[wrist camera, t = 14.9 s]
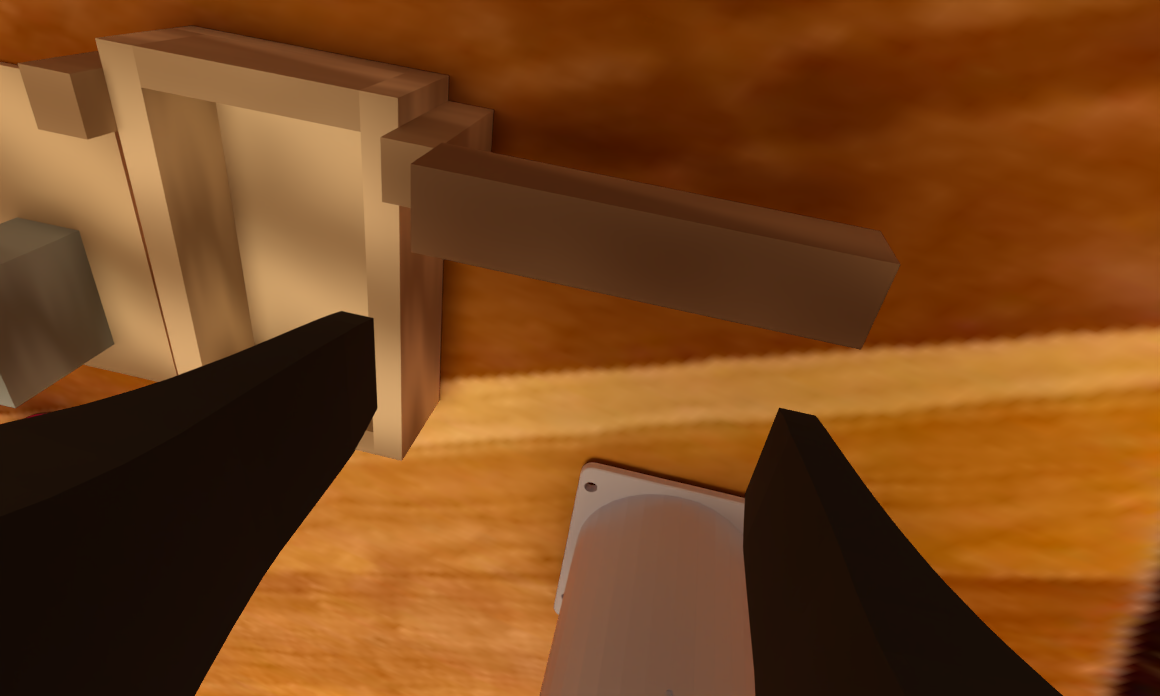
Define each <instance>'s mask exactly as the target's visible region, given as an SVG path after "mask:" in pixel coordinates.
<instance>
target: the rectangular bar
mask: <svg viewBox="0 0 1160 696" xmlns="http://www.w3.org/2000/svg"><path fill="white" fill-rule="evenodd" d="M411 252H413V253H418V254H422V255H427V256H432V257H436V258H441V259H445V260H450V261H455V262H459V263H464V264H469V265H473V266H478V267H482V268H487V269H492V270H496V271H501V272H505V273H510V274H515V275H519V276H524V277H529V278H533V279H538V280H542V281H547V282H552V283H556V284H561V285H565V286H570V287H575V288H579V289H584V290H588V291H593V292H598V293H602V294H607V295H612V296H616V297H621V298H625V299H630V300H635V301H639V302H644V303H648V304H653V305H658V306H662V307H667V308H671V309H676V310H681V311H685V312H690V313H695V314H699V315H704V316H708V317H713V318H718V319H722V320H727V321H731V322H736V323H741V324H745V325H750V326H755V327H759V328H764V329H768V330H773V331H778V332H782V333H787V334H791V335H796V336H801V337H805V338H810V339H814V340H819V341H824V342H828V343H833V344H838V345H842V346H847V347H851V348H856V349H861V348H862V346H863V344H864V342H865V340H866V338H867V335H868V333H869V331H870V329H871V327H872V325H873V323H874V320H875V318H876V316H877V314H878V312H879V310H880V307H881V305H882V303H883V301H884V299H885V297H886V294H887V292H888V290H889V288H890V286H891V284H892V282H893V279H894V277H895V275H896V273H897V271H898V269H899V266H900V263H899V261H898V260H897V258H896V256H895V255H894V253H893V251H892V250H891V248H890V246H889V245H888V243H887V241H886V240H885V238H884V236H883V235H882V233H881V231H877V230H872V229H867V228H862V227H858V226H853V225H848V224H843V223H838V222H833V221H828V220H823V219H818V218H813V217H808V216H803V215H798V214H793V213H788V212H783V211H779V210H774V209H769V208H764V207H759V206H754V205H749V204H744V203H739V202H734V201H729V200H724V199H719V198H714V197H709V196H704V195H700V194H695V193H690V192H685V191H680V190H675V189H670V188H665V187H660V186H655V185H650V184H645V183H640V182H635V181H630V180H625V179H621V178H616V177H611V176H606V175H601V174H596V173H591V172H586V171H581V170H576V169H571V168H566V167H561V166H556V165H551V164H546V163H542V162H537V161H532V160H527V159H522V158H517V157H512V156H507V155H502V154H497V153H492V152H487V151H482V150H477V149H472V148H467V147H463V146H458V145H453V144H448V143H443V142H442V143H440V144H439V145H438V146H436V147H435V148H433V149H432V150H430V151H429V152H427V153H426V154H424V155H423V156H421V157H420V158H418V159H417V160H415V161H414V162H412V163H411Z"/></svg>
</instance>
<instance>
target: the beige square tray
mask: <svg viewBox="0 0 1160 696" xmlns="http://www.w3.org/2000/svg"><path fill="white" fill-rule="evenodd" d="M95 39H96V43H97V47H98V51H95V52H88V53H82V54H75V55H69V56H62V57H55V58H49V59H42V60H36V61H29V62H23V63H18V66H19V70H20V73H21V76H22V79H23V82H24V86H25V89H26V92H27V95H28V98H29V102H30V105H31V108H32V111H33V114H34V118H35V121H36V124H37V127H38V129H39V130H44V131H49V132H53V133H58V134H63V135H68V136H72V137H77V138H82V139H87V140H88V139H92V138H95V137H99V136H102V135H105V134H109V133H112V132H116V131H118V132H119V136H120V140H121V144H122V149H123V153H124V157H125V161H126V165H127V169H128V173H129V177H130V181H131V185H132V189H133V193H134V197H135V201H136V205H137V209H138V213H139V217H140V221H141V226H142V230H143V234H144V238H145V242H146V246H147V250H148V254H149V258H150V262H151V266H152V270H153V274H154V278H155V282H156V286H157V290H158V294H159V298H160V303H161V307H162V311H163V315H164V319H165V323H166V327H167V331H168V335H169V339H170V343H171V347H172V351H173V355H174V359H175V363H176V367H177V371H178V375H180V374H182V373H185V372H188V371H190V370H193V369H196V368H198V367H201V366H204V365H206V364H209V363H212V362H214V361H217V360H220V359H222V358H225V357H228V356H230V355H233V354H235V353H238V352H240V351H243V350H245V349H247V348H250V347H252V346H255V345H257V344H259V343H262V342H264V341H267V340H269V339H271V338H274V337H276V336H279V335H281V334H283V333H286V332H288V331H290V330H293V329H295V328H298V327H300V326H302V325H305V324H307V323H310V322H312V321H315V320H317V319H320V318H322V317H325V316H328V315H330V314H333V313H336V312H339V311H344V312H349V313H353V314H358V315H362V316H367V317H371V318H374V338H375V361H376V384H377V407H378V408H377V410H376V412H375V414H374V416H373V418H372V420H371V422H370V424H369V426H368V428H367V429H366V431H365V433H364V435H363V437H362V439H361V440H360V442H359V444H358V446H357V447H356V449H355V450H359V451H363V452H368V453H372V454H376V455H380V456H384V457H388V458H392V459H396V460H401V461H402V460H403V458H404V457H405V455H406V453H407V452H408V450H409V449H410V447H411V445H412V444H413V442H414V441H415V439H416V437H417V436H418V434H419V433H420V431H421V429H422V428H423V426H424V424H425V423H426V421H427V420H428V418H429V416H430V415H431V413H432V412H433V410H434V408H435V407H436V405H437V404H438V402H439V385H440V352H441V319H442V286H443V259H441V258H436V257H432V256H427V255H422V254H418V253H413V252H411V163H412V162H414V161H415V160H417V159H418V158H420V157H421V156H423V155H424V154H426V153H427V152H429V151H430V150H432V149H433V148H435V147H436V146H438V145H439V144H440V143H442V142H443V143H448V144H453V145H458V146H463V147H467V148H472V149H477V150H482V151H487V152H491V145H492V130H493V116H494V110H493V109H488V108H483V107H477V106H472V105H467V104H462V103H457V102H452V101H448V88H449V75H444V74H439V73H433V72H428V71H423V70H418V69H413V68H408V67H403V66H397V65H392V64H387V63H382V62H377V61H372V60H367V59H361V58H356V57H351V56H346V55H341V54H336V53H330V52H325V51H320V50H315V49H310V48H305V47H300V46H294V45H289V44H284V43H279V42H274V41H269V40H264V39H258V38H253V37H248V36H243V35H238V34H233V33H227V32H222V31H217V30H212V29H207V28H202V27H197V26H184V27H177V28H169V29H161V30H154V31H146V32H138V33H131V34H123V35H115V36H108V37H100V38H95Z"/></svg>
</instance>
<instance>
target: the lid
mask: <svg viewBox="0 0 1160 696" xmlns="http://www.w3.org/2000/svg"><path fill="white" fill-rule="evenodd" d="M81 365H88V366H92V367H96V368H101V369H105V370H109V371H114V372H118V373H122V374H127V375H131V376H135V377H140V378H144V379H148V380H153V381H157V382H160V381H163V380H166V379H169V378H172V377H174V376H177V375H178V371H177V367H176V363H175V359H174V355H173V351H172V347H171V343H170V339H169V335H168V331H167V327H166V323H165V319H164V315H163V311H162V307H161V303H160V298H159V294H158V290H157V286H156V282H155V278H154V274H153V270H152V266H151V262H150V258H149V254H148V250H147V246H146V242H145V238H144V234H143V230H142V226H141V221H140V217H139V213H138V209H137V205H136V201H135V197H134V193H133V189H132V185H131V181H130V177H129V173H128V169H127V165H126V161H125V157H124V153H123V149H122V144H121V140H120V136H119V132H118V131H116V132H112V133H109V134H105V135H102V136H99V137H95V138H92V139H88V140H87V139H82V138H77V137H72V136H68V135H63V134H58V133H53V132H49V131H44V130H39V129H38V127H37V124H36V121H35V118H34V114H33V111H32V108H31V105H30V102H29V98H28V95H27V92H26V89H25V86H24V82H23V79H22V76H21V73H20V70H19V66H18V65H14V64H9V63H4V62H0V405H4V406H8V407H13V408H16V407H18V406H20V405H21V404H23V403H24V402H26V401H27V400H29V399H30V398H32V397H34V396H35V395H37V394H38V393H40V392H41V391H43V390H44V389H46V388H47V387H49V386H51V385H52V384H54V383H55V382H57V381H58V380H60V379H61V378H63V377H64V376H66V375H68V374H69V373H71V372H72V371H74V370H75V369H77V368H78V367H80V366H81Z"/></svg>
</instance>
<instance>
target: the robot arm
mask: <svg viewBox="0 0 1160 696" xmlns="http://www.w3.org/2000/svg"><path fill="white" fill-rule="evenodd" d="M377 408H378V407H377V384H376V361H375V338H374V318H371V317H367V316H362V315H358V314H353V313H349V312H344V311H339V312H336V313H333V314H330V315H328V316H325V317H322V318H320V319H317V320H315V321H312V322H310V323H307V324H305V325H302V326H300V327H298V328H295V329H293V330H290V331H288V332H286V333H283V334H281V335H279V336H276V337H274V338H271V339H269V340H267V341H264V342H262V343H259V344H257V345H255V346H252V347H250V348H247V349H245V350H243V351H240V352H238V353H235V354H233V355H230V356H228V357H225V358H222V359H220V360H217V361H214V362H212V363H209V364H206V365H204V366H201V367H198V368H196V369H193V370H190V371H188V372H185V373H182V374H180V375H177V376H174V377H172V378H169V379H166V380H163V381H160V382H157V383H154V384H151V385H148V386H145V387H142V388H139V389H136V390H132V391H129V392H126V393H122V394H119V395H115V396H112V397H108V398H105V399H102V400H98V401H95V402H91V403H87V404H84V405H80V406H76V407H72V408H68V409H63V410H59V411H55V412H51V413H46V414H42V415H38V416H34V417H29V418H25V419H21V420H17V421H12V422H8V423H4V424H0V696H195V694H196V692H197V691H198V689H199V687H200V685H201V683H202V681H203V679H204V678H205V676H206V674H207V672H208V671H209V669H210V667H211V665H212V664H213V662H214V660H215V658H216V656H217V655H218V653H219V651H220V649H221V648H222V646H223V644H224V642H225V640H226V639H227V637H228V635H229V633H230V632H231V630H232V628H233V626H234V625H235V623H236V621H237V620H238V618H239V616H240V615H241V613H242V611H243V610H244V608H245V606H246V605H247V603H248V601H249V600H250V598H251V596H252V595H253V593H254V591H255V590H256V588H257V586H258V585H259V583H260V581H261V580H262V578H263V576H264V575H265V573H266V572H267V570H268V569H269V567H270V566H271V564H272V563H273V562H274V560H275V559H276V557H277V556H278V554H279V553H280V551H281V550H282V549H283V547H284V546H285V545H286V543H287V542H288V541H289V539H290V538H291V537H292V535H293V534H294V533H295V531H296V530H297V529H298V527H299V526H300V525H301V523H302V522H303V521H304V519H305V518H306V517H307V515H308V514H309V513H310V511H311V510H312V509H313V507H314V506H315V505H316V503H317V502H318V501H319V499H320V498H321V497H322V495H323V494H324V493H325V491H326V490H327V489H328V487H329V486H330V485H331V483H332V482H333V480H334V479H335V478H336V476H337V475H338V474H339V472H340V471H341V470H342V468H343V467H344V465H345V464H346V463H347V461H348V460H349V458H350V457H351V456H352V454H353V453H354V451H355V449H356V447H357V446H358V444H359V442H360V440H361V439H362V437H363V435H364V433H365V431H366V429H367V428H368V426H369V424H370V422H371V420H372V418H373V416H374V414H375V412H376V410H377ZM588 482H592V483H594V484H596V485H590V484H588ZM554 610H555V612H556V613H557V614H559V617H558V621H557V625H556V629H555V633H554V637H553V642H552V646H551V650H550V654H549V658H548V663H547V667H546V671H545V675H544V679H543V683H542V688H541V692H540V696H1063V695H1062V694H1060V693H1059V692H1058V691H1057V690H1056V689H1055V688H1054V687H1052V686H1051V685H1050V684H1049V683H1048V682H1047V681H1046V680H1045V679H1044V678H1042V677H1041V676H1040V675H1039V674H1038V673H1037V672H1036V671H1035V670H1034V669H1033V668H1032V667H1030V666H1029V665H1028V664H1027V663H1026V662H1025V661H1024V660H1023V659H1022V658H1021V657H1019V656H1018V655H1017V654H1016V653H1015V652H1014V651H1013V650H1012V649H1011V648H1010V647H1008V646H1007V645H1006V644H1005V643H1004V642H1003V641H1002V640H1001V639H1000V638H999V637H998V636H997V635H996V634H995V633H994V632H993V631H992V630H991V629H990V628H989V627H988V626H987V625H986V624H985V623H984V622H983V621H982V620H981V619H980V618H979V617H978V616H977V615H976V614H975V613H974V612H973V611H972V610H971V609H970V608H969V607H968V606H967V605H966V604H965V603H964V602H963V601H962V600H961V599H960V598H959V596H958V595H957V594H956V593H955V592H954V591H953V590H952V589H951V588H950V587H949V586H948V585H947V584H946V583H945V582H944V581H943V580H942V579H941V577H940V576H939V575H938V574H937V573H936V572H935V571H934V570H933V569H932V567H931V566H930V565H929V564H928V563H927V562H926V561H925V559H924V558H923V557H922V556H921V555H920V553H919V552H918V551H917V550H916V549H915V547H914V546H913V545H912V544H911V543H910V542H909V540H908V539H907V538H906V537H905V536H904V534H903V533H902V532H901V531H900V530H899V528H898V527H897V526H896V524H895V523H894V522H893V521H892V519H891V518H890V517H889V516H888V514H887V513H886V512H885V511H884V509H883V508H882V507H881V505H880V504H879V503H878V501H877V500H876V499H875V497H874V496H873V495H872V493H871V492H870V491H869V489H868V488H867V487H866V485H865V484H864V483H863V481H862V480H861V478H860V477H859V476H858V474H857V473H856V472H855V470H854V469H853V467H852V466H851V465H850V463H849V462H848V460H847V459H846V457H845V456H844V455H843V453H842V452H841V450H840V449H839V448H838V446H837V445H836V443H835V442H834V440H833V439H832V438H831V436H830V435H829V433H828V432H827V430H826V429H825V428H824V426H823V425H822V423H821V422H820V421H819V419H818V418H817V417H816V416H814V415H810V414H805V413H801V412H796V411H792V410H787V409H783V408H779V410H778V412H777V415H776V417H775V420H774V422H773V425H772V427H771V430H770V432H769V435H768V437H767V440H766V442H765V445H764V448H763V450H762V453H761V455H760V458H759V460H758V463H757V465H756V468H755V470H754V473H753V475H752V478H751V480H750V483H749V485H748V488H747V490H746V493H745V498H743V497H738V496H734V495H730V494H726V493H722V492H717V491H713V490H709V489H705V488H701V487H696V486H692V485H688V484H684V483H680V482H675V481H671V480H667V479H663V478H658V477H654V476H650V475H646V474H642V473H637V472H633V471H629V470H625V469H621V468H616V467H612V466H608V465H604V464H599V463H594V462H590V463H586V464H585V465H584V466H583V468H582V470H581V474H580V479H579V484H578V489H577V494H576V499H575V504H574V509H573V514H572V519H571V523H570V528H569V533H568V538H567V543H566V548H565V553H564V558H563V563H562V568H561V573H560V578H559V583H558V588H557V593H556V598H555V603H554Z"/></svg>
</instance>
